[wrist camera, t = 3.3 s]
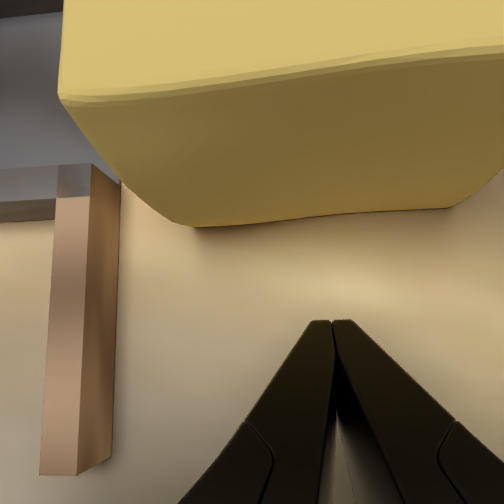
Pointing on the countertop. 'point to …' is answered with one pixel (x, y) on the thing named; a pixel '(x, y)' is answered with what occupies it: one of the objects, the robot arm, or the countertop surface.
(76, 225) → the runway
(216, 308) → the countertop surface
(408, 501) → the robot arm
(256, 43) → the cheese
